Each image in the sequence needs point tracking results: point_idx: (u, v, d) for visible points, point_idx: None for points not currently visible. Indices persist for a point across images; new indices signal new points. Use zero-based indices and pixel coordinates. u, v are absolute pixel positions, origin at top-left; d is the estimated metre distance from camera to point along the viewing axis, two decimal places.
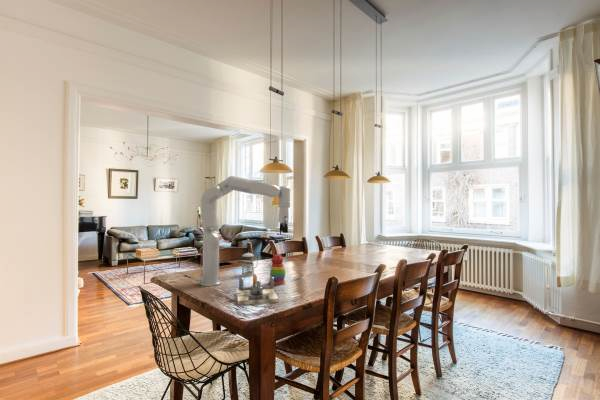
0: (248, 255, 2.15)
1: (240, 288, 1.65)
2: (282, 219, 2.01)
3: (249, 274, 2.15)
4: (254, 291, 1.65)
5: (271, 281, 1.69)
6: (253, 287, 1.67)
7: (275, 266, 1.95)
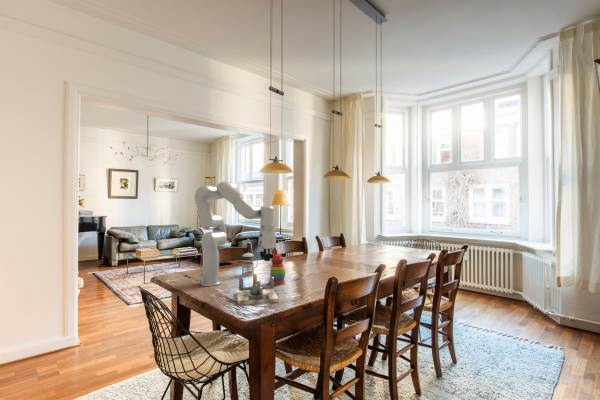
0: (248, 255, 2.15)
1: (240, 288, 1.65)
2: None
3: (249, 274, 2.15)
4: (254, 291, 1.65)
5: (271, 281, 1.69)
6: (253, 287, 1.67)
7: (275, 266, 1.95)
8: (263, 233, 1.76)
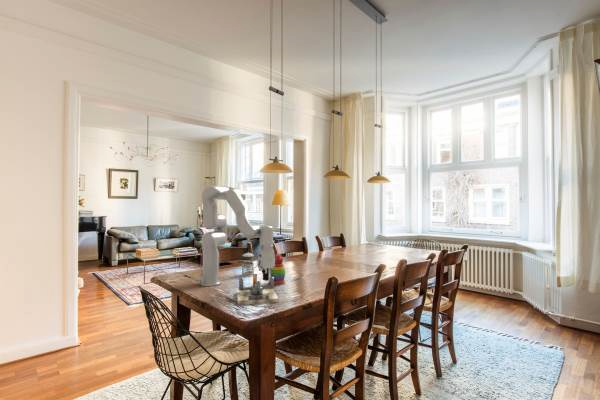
0: (248, 255, 2.15)
1: (240, 288, 1.65)
2: None
3: (249, 274, 2.15)
4: (254, 291, 1.65)
5: (271, 281, 1.69)
6: (253, 287, 1.67)
7: (275, 266, 1.95)
8: (262, 253, 1.76)
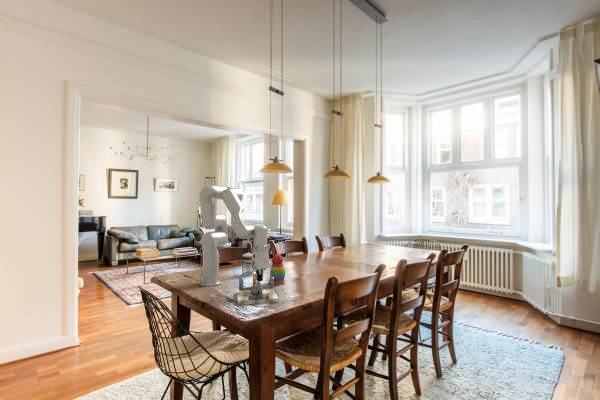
0: (248, 255, 2.15)
1: (240, 288, 1.65)
2: None
3: (249, 274, 2.15)
4: (254, 291, 1.65)
5: (271, 281, 1.69)
6: (253, 287, 1.67)
7: (275, 266, 1.95)
8: (256, 254, 1.74)
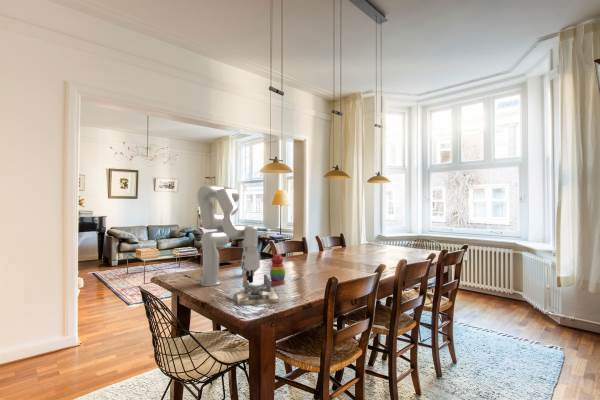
0: None
1: (247, 291, 1.60)
2: None
3: None
4: (259, 291, 1.65)
5: (267, 279, 1.74)
6: (255, 287, 1.66)
7: (275, 266, 1.95)
8: (246, 255, 1.71)
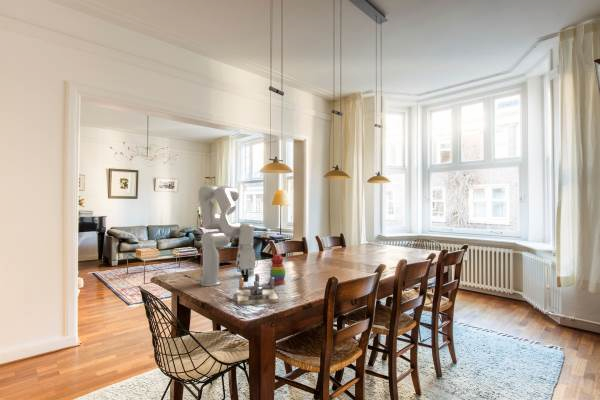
0: None
1: (257, 291, 1.59)
2: None
3: (249, 274, 2.15)
4: (261, 290, 1.67)
5: (258, 278, 1.76)
6: (257, 287, 1.66)
7: (275, 266, 1.95)
8: (241, 253, 1.66)
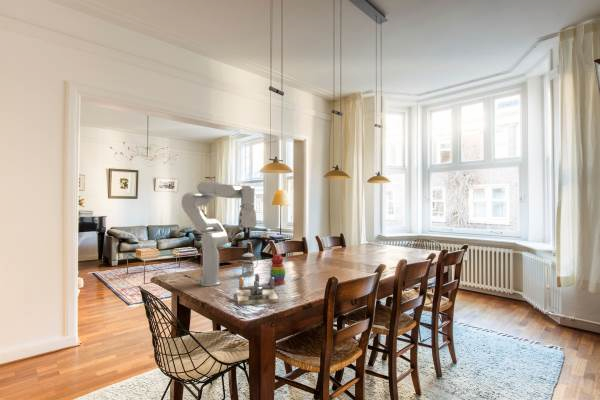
0: (248, 255, 2.15)
1: (257, 291, 1.59)
2: None
3: (249, 274, 2.15)
4: (261, 290, 1.67)
5: (258, 278, 1.76)
6: (257, 287, 1.66)
7: (275, 266, 1.95)
8: (243, 212, 1.78)
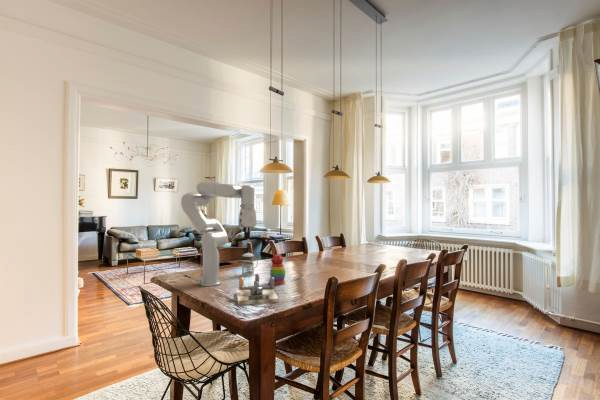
0: (248, 255, 2.15)
1: (257, 291, 1.59)
2: None
3: (249, 274, 2.15)
4: (261, 290, 1.67)
5: (258, 278, 1.76)
6: (257, 287, 1.66)
7: (275, 266, 1.95)
8: (243, 211, 1.78)
